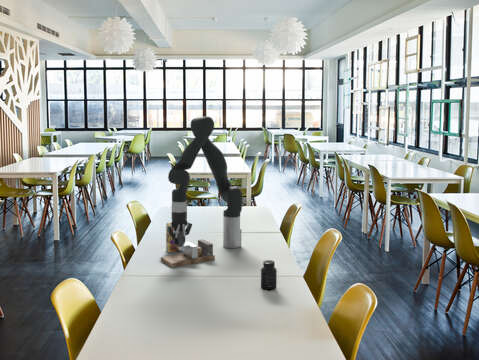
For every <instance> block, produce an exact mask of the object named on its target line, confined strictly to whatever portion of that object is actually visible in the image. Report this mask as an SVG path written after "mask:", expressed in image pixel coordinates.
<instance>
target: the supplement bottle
mask: <svg viewBox="0 0 479 360" xmlns="http://www.w3.org/2000/svg"><path fill="white" fill-rule="evenodd" d="M275 263H276V262H275V261H274V260H271V259H269V260H268V259H266V260H264V261H263V263H262V267H261V268H260V289H261V290H262V289H263V291H265V290H267V291H266V292H272V291H271V290H273V291H275V290H276V289H277V283H278V282H277V281H278V280H277V278H278V277H277V275H278V271H277V268H276V265H275Z"/></svg>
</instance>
